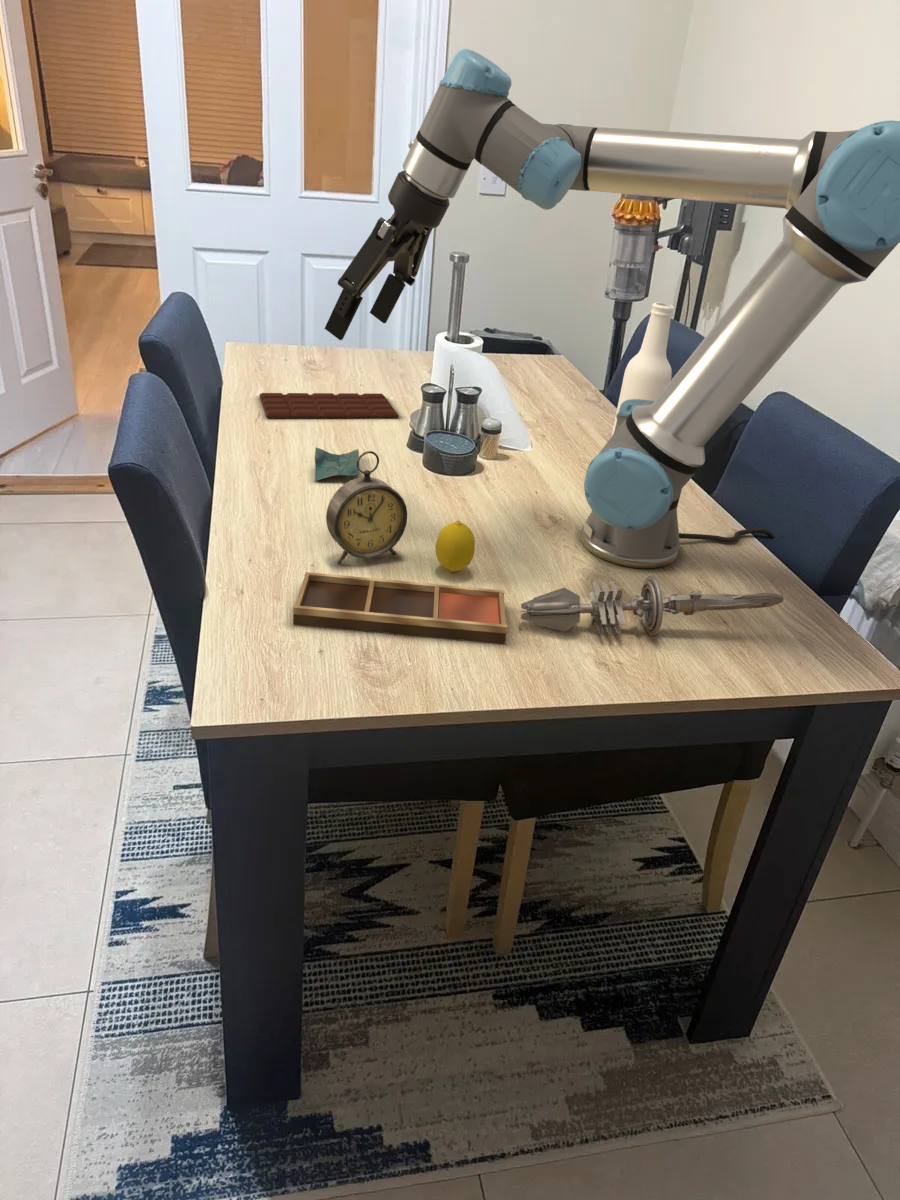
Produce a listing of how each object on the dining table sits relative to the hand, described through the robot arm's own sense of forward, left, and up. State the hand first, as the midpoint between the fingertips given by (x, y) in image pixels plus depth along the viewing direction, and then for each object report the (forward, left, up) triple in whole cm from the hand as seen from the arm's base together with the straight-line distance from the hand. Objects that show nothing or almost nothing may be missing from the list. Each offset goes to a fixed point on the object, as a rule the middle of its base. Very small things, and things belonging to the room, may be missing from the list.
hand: (356, 325), depth 121 cm
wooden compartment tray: (-10, +30, -29) cm, 43 cm away
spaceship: (-43, +28, -29) cm, 59 cm away
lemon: (-17, +17, -29) cm, 38 cm away
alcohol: (-52, -37, -29) cm, 70 cm away
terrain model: (+4, -17, -29) cm, 34 cm away
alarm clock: (-4, +15, -29) cm, 33 cm away
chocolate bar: (+10, -50, -29) cm, 59 cm away
